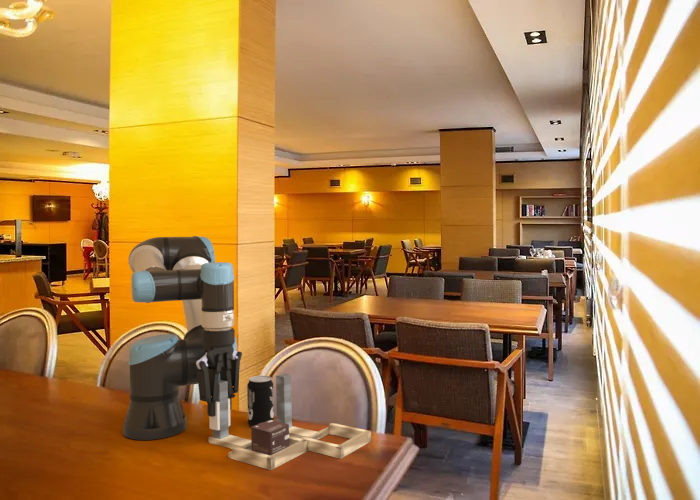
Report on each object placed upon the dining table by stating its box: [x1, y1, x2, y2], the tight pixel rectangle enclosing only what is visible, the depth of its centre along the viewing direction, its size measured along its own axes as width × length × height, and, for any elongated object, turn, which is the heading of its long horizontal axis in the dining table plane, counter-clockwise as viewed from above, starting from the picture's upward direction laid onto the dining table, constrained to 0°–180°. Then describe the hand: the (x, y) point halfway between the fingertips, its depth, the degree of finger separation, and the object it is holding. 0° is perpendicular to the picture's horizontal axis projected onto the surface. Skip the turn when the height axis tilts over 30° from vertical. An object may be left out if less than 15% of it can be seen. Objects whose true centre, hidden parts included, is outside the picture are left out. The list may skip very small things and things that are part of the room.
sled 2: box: [275, 373, 372, 459], centre depth 136 cm, size 23×12×14 cm, turn 56°
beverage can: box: [246, 375, 275, 428], centre depth 148 cm, size 7×7×12 cm
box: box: [250, 420, 289, 456], centre depth 126 cm, size 6×6×7 cm
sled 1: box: [207, 380, 309, 471], centre depth 131 cm, size 23×12×14 cm, turn 56°
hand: (220, 426), depth 136 cm, fingers closed on sled 1, 3 cm apart
